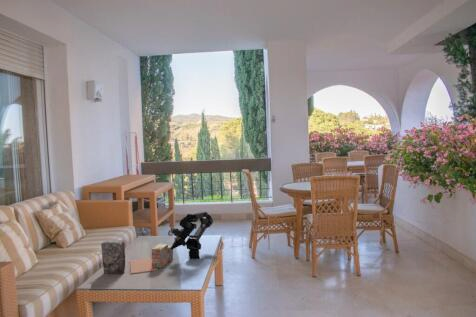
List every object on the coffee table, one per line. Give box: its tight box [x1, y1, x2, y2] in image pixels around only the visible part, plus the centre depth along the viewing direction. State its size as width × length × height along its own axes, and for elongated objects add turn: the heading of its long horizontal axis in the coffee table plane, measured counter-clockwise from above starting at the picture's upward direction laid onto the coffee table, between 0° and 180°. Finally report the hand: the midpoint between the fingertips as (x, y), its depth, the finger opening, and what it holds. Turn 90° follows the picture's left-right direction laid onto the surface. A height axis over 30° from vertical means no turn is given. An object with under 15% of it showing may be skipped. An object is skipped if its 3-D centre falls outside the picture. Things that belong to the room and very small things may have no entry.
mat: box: [129, 257, 158, 275], centre depth 245 cm, size 16×26×1 cm, turn 17°
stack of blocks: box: [151, 243, 174, 269], centre depth 249 cm, size 21×6×12 cm, turn 169°
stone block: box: [101, 239, 126, 275], centre depth 234 cm, size 13×7×20 cm, turn 87°
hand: (171, 248), depth 250 cm, fingers closed
